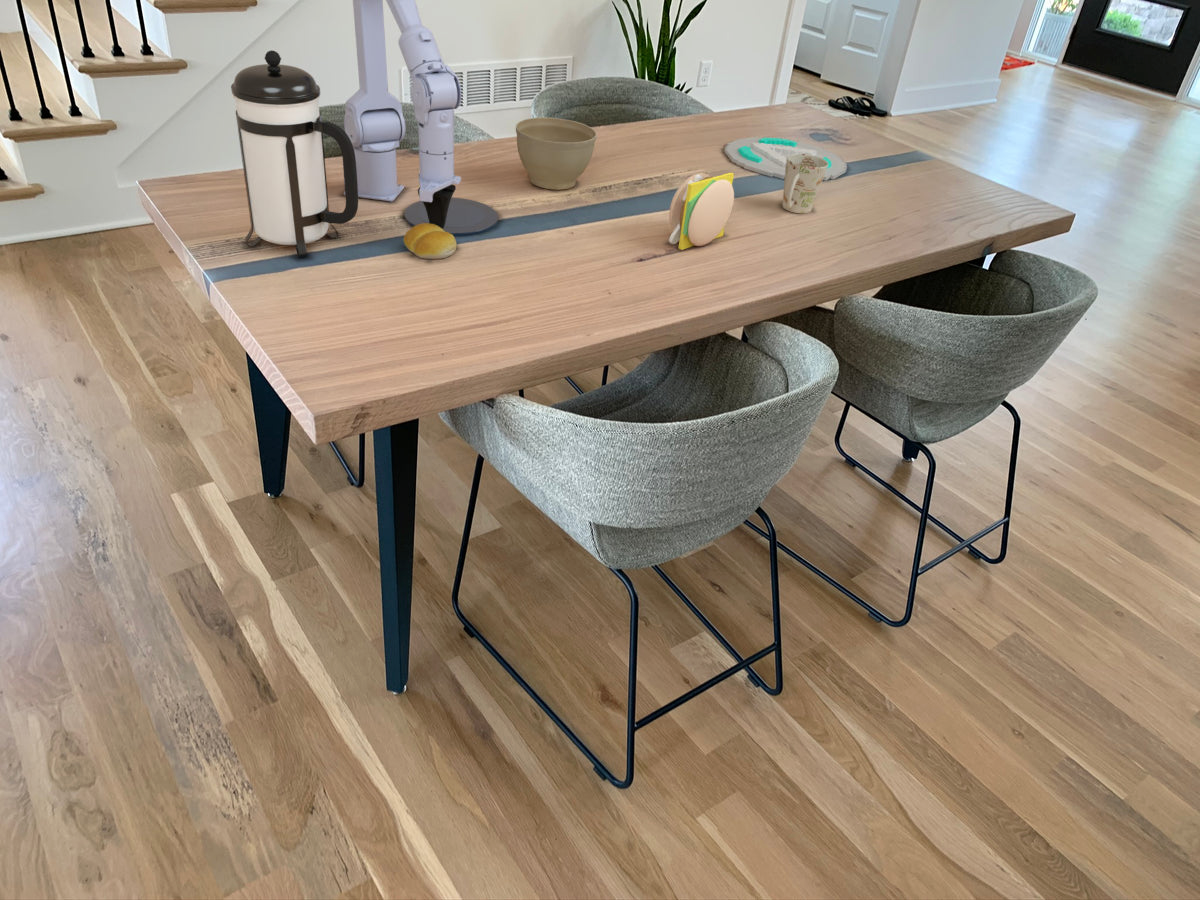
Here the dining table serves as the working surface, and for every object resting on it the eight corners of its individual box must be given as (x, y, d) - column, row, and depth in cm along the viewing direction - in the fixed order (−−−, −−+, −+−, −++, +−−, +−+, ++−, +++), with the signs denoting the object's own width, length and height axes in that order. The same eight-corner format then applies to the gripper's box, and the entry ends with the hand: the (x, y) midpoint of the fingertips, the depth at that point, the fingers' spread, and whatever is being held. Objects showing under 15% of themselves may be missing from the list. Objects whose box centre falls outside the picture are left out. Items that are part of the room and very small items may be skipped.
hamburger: (698, 225, 174) (708, 163, 167) (732, 240, 169) (743, 177, 162) (657, 238, 167) (665, 174, 160) (690, 254, 162) (701, 189, 155)
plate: (392, 228, 159) (392, 225, 159) (419, 195, 173) (419, 192, 172) (487, 241, 158) (487, 238, 158) (506, 206, 172) (506, 204, 172)
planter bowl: (576, 202, 177) (580, 147, 171) (501, 186, 181) (502, 131, 174) (602, 179, 190) (607, 126, 184) (531, 163, 193) (534, 112, 187)
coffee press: (251, 266, 142) (223, 65, 124) (241, 226, 153) (213, 38, 136) (362, 257, 148) (350, 65, 131) (344, 219, 160) (331, 39, 142)
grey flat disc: (760, 133, 228) (761, 127, 227) (862, 162, 216) (864, 156, 215) (704, 156, 209) (705, 149, 208) (813, 189, 197) (815, 182, 196)
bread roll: (426, 265, 148) (425, 242, 146) (396, 245, 153) (395, 223, 151) (467, 254, 153) (467, 231, 151) (437, 235, 158) (436, 214, 156)
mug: (820, 207, 189) (832, 159, 183) (805, 225, 179) (817, 176, 173) (782, 197, 191) (793, 150, 185) (766, 215, 182) (776, 166, 176)
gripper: (449, 166, 142) (449, 246, 150) (470, 139, 154) (469, 215, 162) (405, 160, 143) (408, 241, 151) (430, 134, 154) (431, 210, 162)
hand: (437, 227), depth 156 cm, fingers closed
